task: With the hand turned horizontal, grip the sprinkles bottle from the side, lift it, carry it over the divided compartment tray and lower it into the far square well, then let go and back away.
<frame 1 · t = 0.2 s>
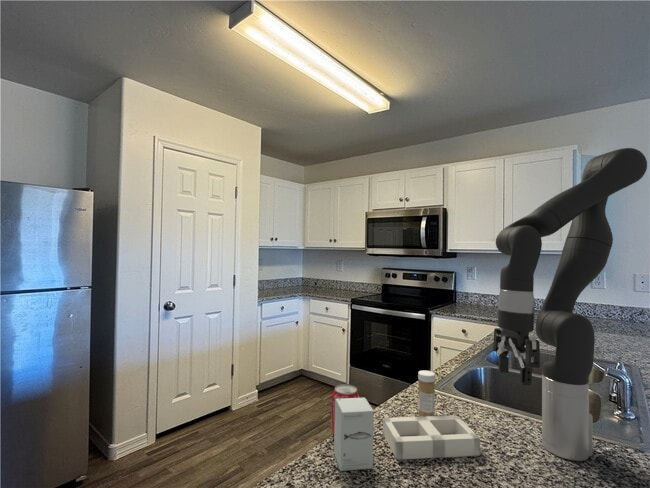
hand: (513, 378, 80), 18 cm above the worktop, tool pointing down, fingers open, 8 cm apart
sprinkles bottle: (426, 421, 95), on the worktop
divided compartment tray: (428, 444, 83), on the worktop
supplement box: (352, 461, 76), on the worktop
soda can: (345, 437, 86), on the worktop
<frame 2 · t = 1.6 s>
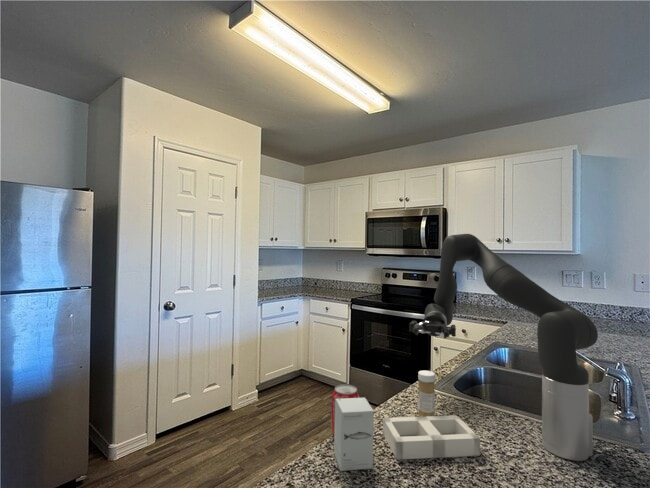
hand: (430, 333, 104), 22 cm above the worktop, tool horizontal, fingers open, 8 cm apart
nothing on the worktop moved.
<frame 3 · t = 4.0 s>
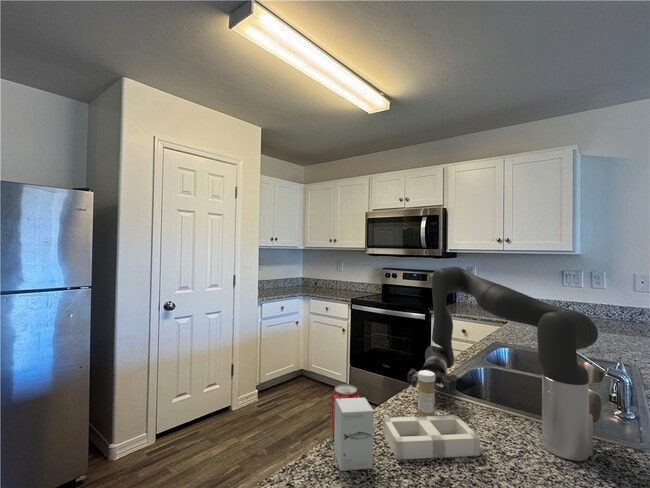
hand: (429, 386, 100), 7 cm above the worktop, tool horizontal, fingers open, 8 cm apart
nothing on the worktop moved.
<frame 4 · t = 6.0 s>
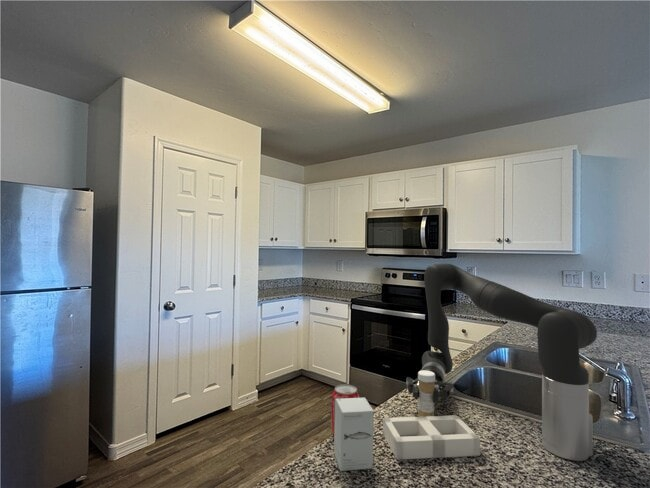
hand: (425, 397, 92), 8 cm above the worktop, tool horizontal, fingers closed on sprinkles bottle, 4 cm apart
sprinkles bottle: (426, 421, 95), on the worktop, touching gripper
everything else where it was.
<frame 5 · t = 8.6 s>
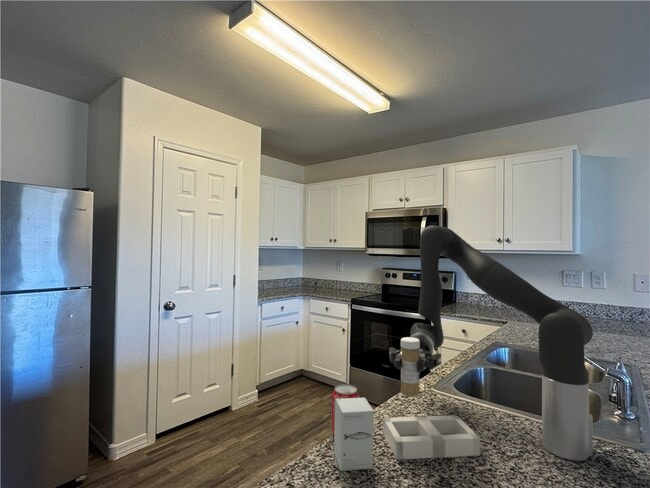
hand: (408, 366, 81), 20 cm above the worktop, tool horizontal, fingers closed on sprinkles bottle, 4 cm apart
sprinkles bottle: (409, 394, 83), point 12 cm above the worktop, touching gripper
everything else where it was.
when the fingers open (9 cm above the worktop, at t = 11.5 s): sprinkles bottle drops 1 cm, resting on divided compartment tray.
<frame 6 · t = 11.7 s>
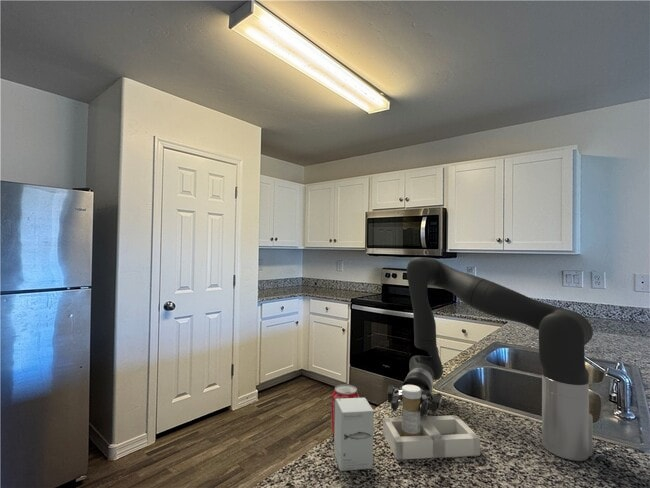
hand: (408, 409, 81), 9 cm above the worktop, tool horizontal, fingers open, 6 cm apart
sprinkles bottle: (410, 444, 83), resting on divided compartment tray
everything else where it was.
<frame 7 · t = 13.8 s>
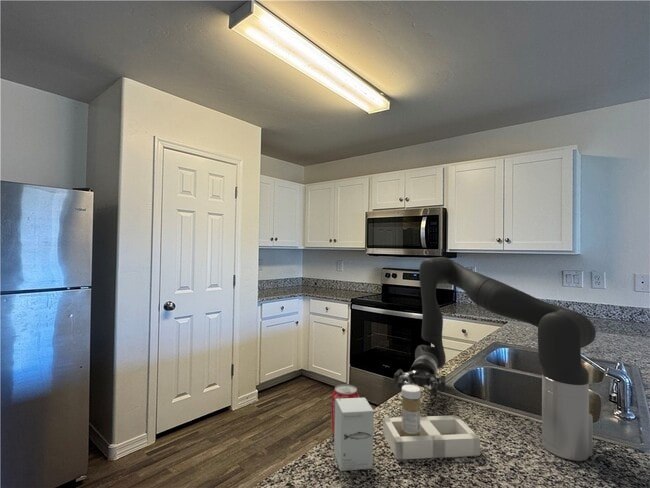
hand: (416, 388, 92), 10 cm above the worktop, tool horizontal, fingers open, 8 cm apart
nothing on the worktop moved.
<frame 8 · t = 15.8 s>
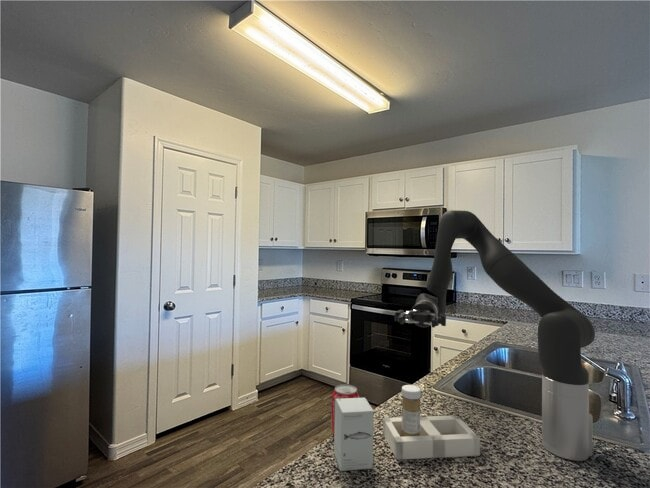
hand: (416, 322, 93), 28 cm above the worktop, tool horizontal, fingers open, 8 cm apart
nothing on the worktop moved.
at the end: sprinkles bottle 0.3 cm from the target spot on the divided compartment tray, point 0.2 cm above the divided compartment tray's base; sprinkles bottle tilted 0°; the gripper is holding nothing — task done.
